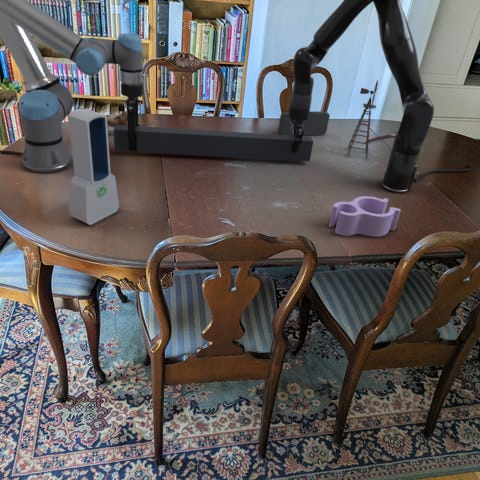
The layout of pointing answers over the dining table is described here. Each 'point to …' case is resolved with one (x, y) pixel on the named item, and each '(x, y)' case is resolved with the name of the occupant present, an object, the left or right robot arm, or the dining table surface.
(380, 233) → the clip
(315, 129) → the handheld gaming console
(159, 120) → the dining table surface
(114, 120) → the lion figurine
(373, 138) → the sword
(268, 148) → the post
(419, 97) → the right robot arm
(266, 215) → the dining table surface
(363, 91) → the miniature windmill
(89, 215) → the electronic device
